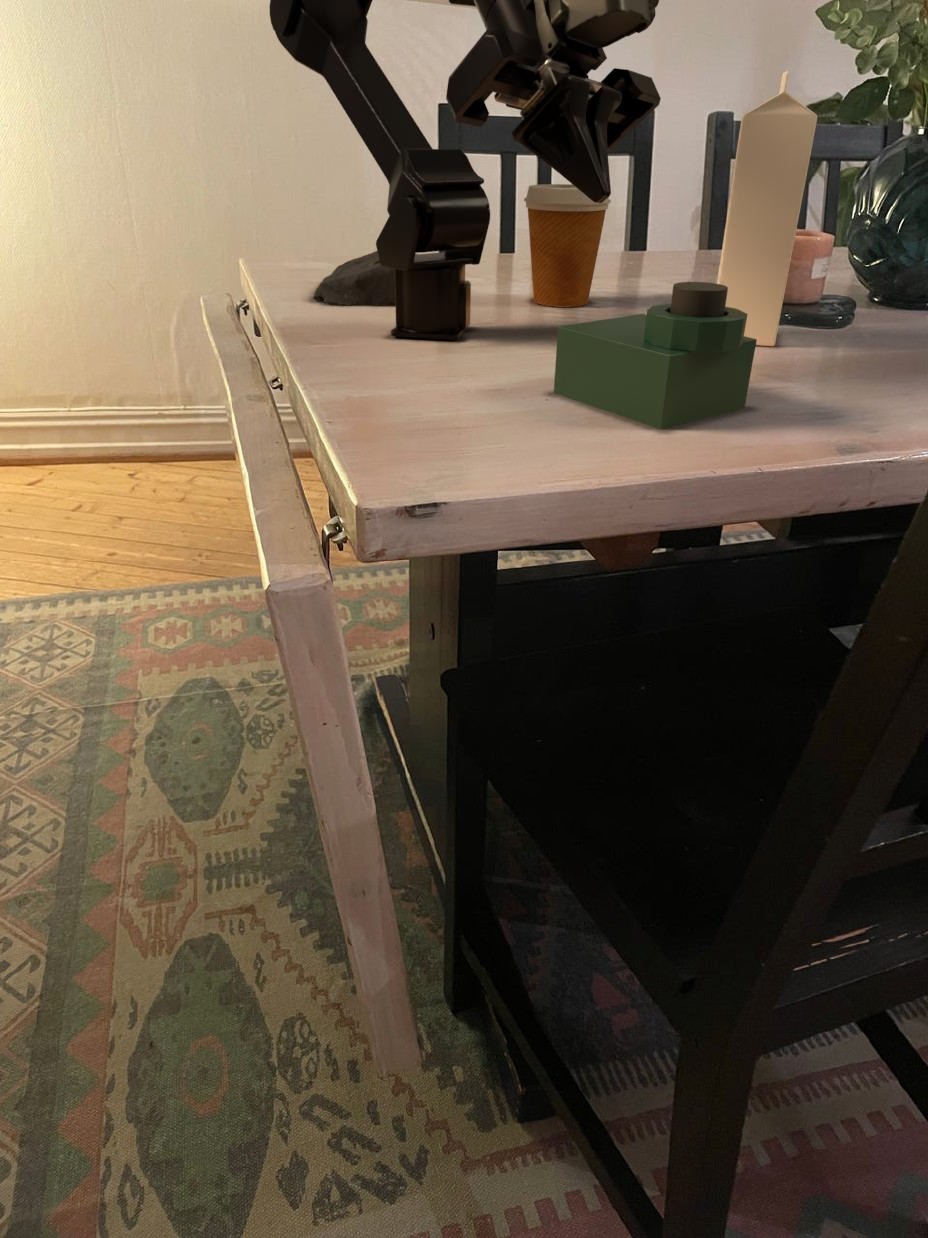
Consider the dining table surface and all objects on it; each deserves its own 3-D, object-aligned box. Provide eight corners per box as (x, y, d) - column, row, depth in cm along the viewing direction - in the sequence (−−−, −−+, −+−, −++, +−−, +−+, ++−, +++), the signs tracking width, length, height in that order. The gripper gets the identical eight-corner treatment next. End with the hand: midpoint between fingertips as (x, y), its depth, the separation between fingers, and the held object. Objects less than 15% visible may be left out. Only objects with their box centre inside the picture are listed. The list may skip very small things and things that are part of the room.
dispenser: (553, 393, 66) (559, 297, 63) (635, 376, 71) (645, 286, 67) (674, 435, 58) (690, 327, 54) (758, 412, 62) (777, 312, 59)
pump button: (658, 315, 59) (662, 284, 58) (693, 310, 61) (697, 279, 60) (699, 325, 57) (704, 292, 56) (734, 319, 59) (739, 287, 58)
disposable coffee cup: (615, 300, 101) (625, 186, 95) (579, 312, 94) (588, 190, 88) (543, 292, 105) (549, 182, 99) (504, 303, 98) (508, 186, 92)
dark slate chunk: (444, 275, 116) (444, 237, 113) (446, 306, 97) (446, 260, 94) (330, 274, 115) (327, 235, 113) (309, 305, 96) (306, 259, 94)
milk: (709, 343, 82) (748, 69, 71) (709, 330, 87) (746, 73, 76) (776, 347, 81) (826, 69, 70) (772, 333, 86) (818, 72, 75)
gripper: (510, -137, 51) (611, 96, 51) (673, -49, 64) (756, 138, 63) (405, 14, 60) (491, 216, 59) (568, 65, 72) (641, 232, 72)
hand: (603, 198), depth 63 cm, fingers closed
